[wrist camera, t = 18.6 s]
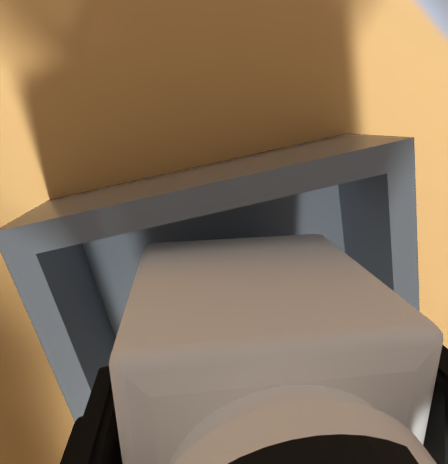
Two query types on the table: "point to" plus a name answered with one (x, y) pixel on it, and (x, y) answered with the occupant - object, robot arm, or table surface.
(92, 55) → the table surface
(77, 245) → the tote
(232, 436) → the medicine bottle
